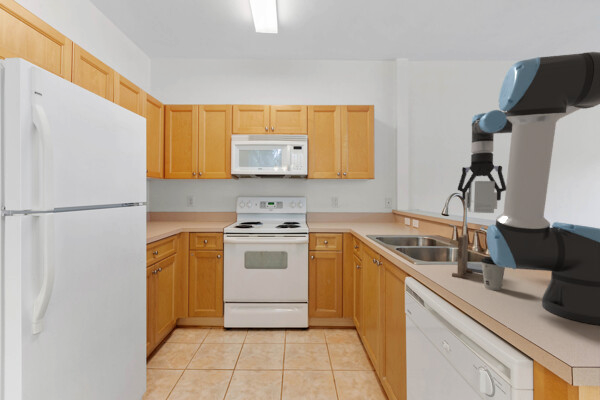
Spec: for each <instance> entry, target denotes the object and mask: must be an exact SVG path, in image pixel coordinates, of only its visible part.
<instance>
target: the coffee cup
mask: <svg viewBox="0 0 600 400" xmlns="http://www.w3.org/2000/svg"><path fill="white" fill-rule="evenodd" d="M480 262H481V265H482V269H483V273H482V277H483V285H484V286H483V287H484V288H485V289H486V290H489V291H490V290H491V291H497V292H498V291H501V290H502V286H503V280H504V274H505V269H506V267H500V266H498V265H496V264H495V263H494V262H493V260H492V258H491V256H484V258H482V259H481V261H480Z"/></svg>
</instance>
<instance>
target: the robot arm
mask: <svg viewBox="0 0 600 400" xmlns="http://www.w3.org/2000/svg"><path fill="white" fill-rule="evenodd" d="M498 103H499V104H498V108H499V110H498V109H494V110H490V111H488V112H482V113H478V114H475V115H474V116H473V117H472V121H471V147H470V148H471V150H470V151H471V153H472V154H471V157H470V158H471V159H470V165H469V166H466V167H464V166H463V167H462V168H461V171H462V174H461V176H460V180H459V183H458V186H457V191H459V192H462V193H461V194H462V200H464V208H465V209H468V195H469V186H470V184H471V182H474V180H475V179H476V178H477V177H487V178H488V179H489V181H495V191H494V210H498V201H501V199H502V198H501V197H502V192H505V195H504V203H503V204H504V205H503V212H502V214H500V215H498V216H497V217H496V219H495V224H491V225H489V226H487V229H486V243H487V249H488V252H489V255H490V256H489V257H491V258H492V260H493V262H494V263H495V264H496V265H498V266H500V267H505V269H507V268H508V269H512V270H516V269H517V270H518V269H519V270H530V271H531V270H532V271H544V272H545V271H546V272H551V276H550V277H551V279H550V281H549V283H548V285H547V287H546V289H545V292H544V293H543V295H542V299H541V306H542V308H544V309H545V310H546V311H548V312H550V313H551V314H554V315H556V316H559V317H563V318H566V319H568V320H569V319H570V320H573V321H577V322H581V323H585V324H592V325H598V326H600V228H599V227H592V226H586V225H580V224H572V223H565V222H558V221H555V222H553V223H552V225H551V222H550V221H549V220H547V218H546V217H545V208H546V200H547V193H548V186H549V185H548V184H549V178H550V172H551V171H550V170H551V163H552V156H553V149H554V140H555V135H556V134H555V133H556V127H557V126H556V125H557V122H558V121H559V120H560V119H563V118H564V117H566V116H569V115H571V114H573V113H574V112H576V111H579V110H580V109H583V110H584V109H590V108H594V107H597V106H598V105H600V52H597V51H589V52H581V53H574V54H561V55H552V56H539V57H534V58H529V59H524V60H519V61H517V62H515V63H514V64H513V65H512V66H511V67H509V69H508V71H507V72H506V75H505V76H504V78H503V81H502V85H501V87H500V91H499V97H498ZM509 133H510V134H511V137H510V146H509V156H508V157H509V159H508V166H507V176H506V177H507V178H506V181H505V179H504V175H503V166H502V165H494V154H493V152H494V135H495V134H509ZM493 170H495V171H496V172H497V176H498V179H499V182H500V186H501V187H500V186H499V185H498V183H497V181H496V180H495V179H494V177H493V175H492V171H493ZM469 171H471V176H470V177H469V179H468V180H467V182H466V183H465V181H466V177H467V174H468V173H469ZM464 184H465V185H464Z"/></svg>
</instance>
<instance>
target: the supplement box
mask: <svg viewBox="0 0 600 400" xmlns="http://www.w3.org/2000/svg"><path fill="white" fill-rule="evenodd" d="M495 182H496V180H495V181H490V180H475V181H474V180H473V182H471V184H470V186H469V188H468V192H469V194H468V208H467V212H469V213H479V214H480V213H481V214H483V213H484V214H494V213H495V209H494V192H495V191H496V189H495Z"/></svg>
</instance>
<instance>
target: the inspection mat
mask: <svg viewBox="0 0 600 400" xmlns="http://www.w3.org/2000/svg"><path fill="white" fill-rule="evenodd" d="M467 269H470V270H473V273H479V274H483V269H482V264H478V263H471V262H467Z"/></svg>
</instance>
